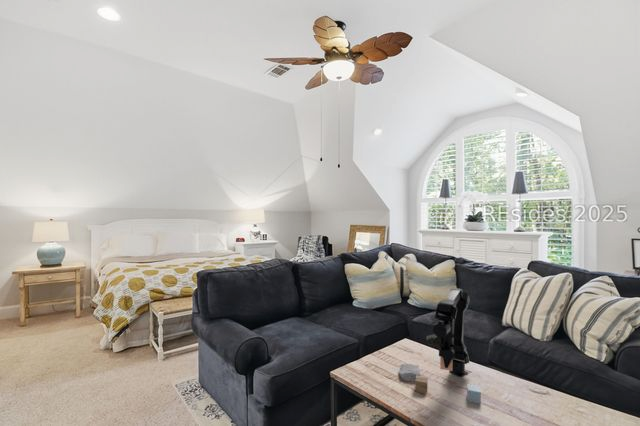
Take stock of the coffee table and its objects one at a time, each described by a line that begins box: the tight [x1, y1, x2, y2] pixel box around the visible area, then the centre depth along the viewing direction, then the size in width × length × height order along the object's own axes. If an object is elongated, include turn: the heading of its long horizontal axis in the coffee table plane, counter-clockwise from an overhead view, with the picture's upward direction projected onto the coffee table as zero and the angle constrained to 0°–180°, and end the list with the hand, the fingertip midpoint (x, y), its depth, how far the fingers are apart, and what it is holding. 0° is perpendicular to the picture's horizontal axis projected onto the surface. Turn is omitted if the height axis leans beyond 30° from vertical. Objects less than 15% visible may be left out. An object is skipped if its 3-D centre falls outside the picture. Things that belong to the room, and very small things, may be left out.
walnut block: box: [414, 375, 429, 394], centre depth 150 cm, size 5×5×5 cm
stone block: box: [399, 363, 421, 382], centre depth 163 cm, size 12×5×10 cm
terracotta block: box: [439, 356, 453, 371], centre depth 147 cm, size 5×5×5 cm
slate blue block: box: [466, 383, 482, 405], centre depth 142 cm, size 5×5×5 cm
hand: (446, 364), depth 147 cm, fingers closed on terracotta block, 5 cm apart
